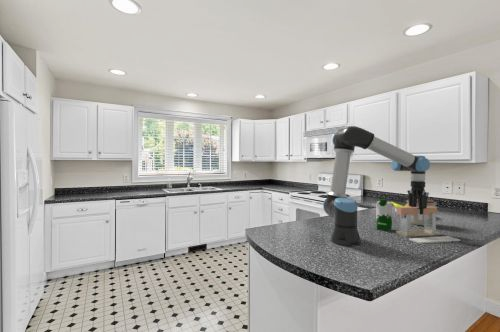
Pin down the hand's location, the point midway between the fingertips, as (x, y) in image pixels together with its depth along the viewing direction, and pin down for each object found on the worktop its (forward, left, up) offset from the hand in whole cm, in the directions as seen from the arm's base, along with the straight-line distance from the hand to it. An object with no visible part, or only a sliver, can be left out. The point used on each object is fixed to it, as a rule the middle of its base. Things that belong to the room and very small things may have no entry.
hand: (417, 218), depth 155 cm
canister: (+25, +22, -10) cm, 35 cm away
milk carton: (-12, +14, -10) cm, 21 cm away
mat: (-2, -13, -9) cm, 16 cm away
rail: (0, 0, +3) cm, 3 cm away
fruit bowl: (+44, +50, -10) cm, 68 cm away
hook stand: (0, 0, -9) cm, 9 cm away
